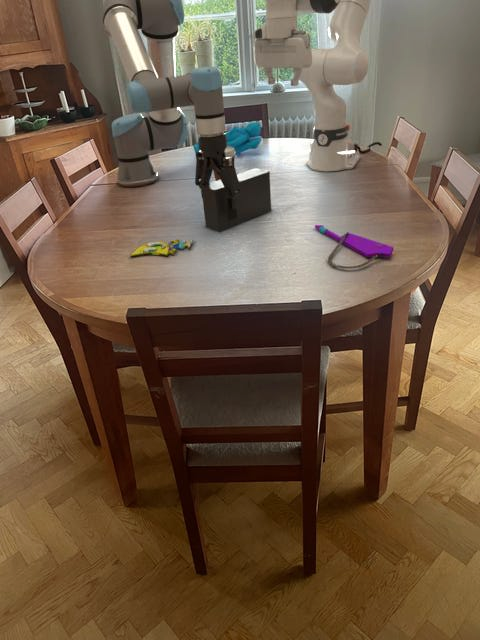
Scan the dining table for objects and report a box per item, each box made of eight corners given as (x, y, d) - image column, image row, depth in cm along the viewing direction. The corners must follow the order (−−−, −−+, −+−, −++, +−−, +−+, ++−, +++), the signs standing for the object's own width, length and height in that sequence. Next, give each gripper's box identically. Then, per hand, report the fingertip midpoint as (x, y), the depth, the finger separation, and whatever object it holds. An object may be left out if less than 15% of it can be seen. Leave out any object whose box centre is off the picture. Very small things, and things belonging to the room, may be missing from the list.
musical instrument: (376, 279, 107) (404, 235, 119) (376, 271, 106) (404, 227, 118) (282, 266, 120) (316, 227, 132) (281, 259, 119) (315, 220, 131)
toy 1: (185, 253, 123) (129, 254, 125) (186, 256, 123) (130, 257, 125) (193, 237, 131) (141, 238, 133) (194, 240, 132) (141, 241, 134)
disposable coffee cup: (207, 187, 170) (203, 152, 164) (218, 179, 178) (215, 145, 171) (232, 188, 167) (229, 153, 161) (242, 180, 174) (239, 146, 168)
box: (219, 232, 136) (214, 190, 129) (205, 226, 140) (200, 185, 133) (271, 211, 146) (269, 171, 140) (257, 206, 150) (255, 168, 144)
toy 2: (199, 135, 215) (262, 115, 205) (207, 159, 220) (269, 140, 210) (187, 145, 201) (254, 124, 191) (196, 170, 206) (262, 151, 196)
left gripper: (251, 135, 120) (256, 219, 132) (197, 126, 135) (206, 202, 147) (228, 142, 116) (236, 228, 128) (175, 131, 131) (186, 209, 143)
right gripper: (317, 28, 128) (316, 84, 136) (264, 30, 142) (267, 82, 149) (301, 30, 125) (301, 88, 133) (249, 32, 139) (252, 85, 146)
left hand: (220, 214), depth 138 cm, fingers open, 10 cm apart
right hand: (282, 85), depth 141 cm, fingers open, 8 cm apart
